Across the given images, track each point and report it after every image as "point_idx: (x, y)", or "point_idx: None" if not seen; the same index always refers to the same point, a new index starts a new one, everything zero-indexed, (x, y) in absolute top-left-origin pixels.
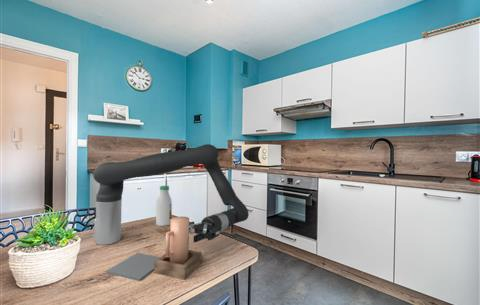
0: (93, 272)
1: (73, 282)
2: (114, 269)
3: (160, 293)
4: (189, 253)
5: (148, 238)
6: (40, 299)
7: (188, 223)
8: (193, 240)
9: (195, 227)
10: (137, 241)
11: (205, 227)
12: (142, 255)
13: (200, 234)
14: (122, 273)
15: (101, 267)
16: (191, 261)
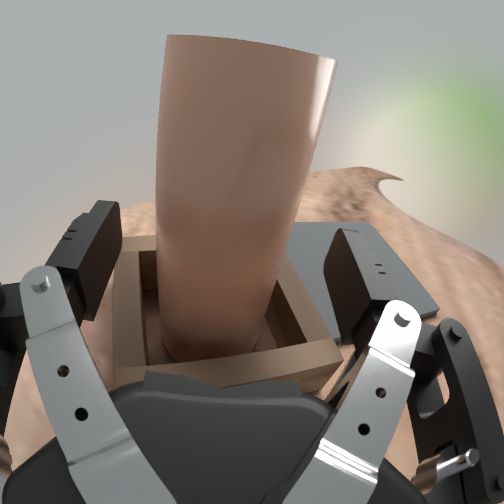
0: (384, 220)
1: (363, 196)
2: (363, 229)
3: (153, 217)
4: (200, 364)
5: None
6: (337, 170)
7: (164, 68)
8: (121, 231)
9: (296, 392)
10: None
11: (62, 380)
12: (411, 306)
13: (72, 246)
14: (326, 225)
15: (400, 235)
16: (115, 282)
